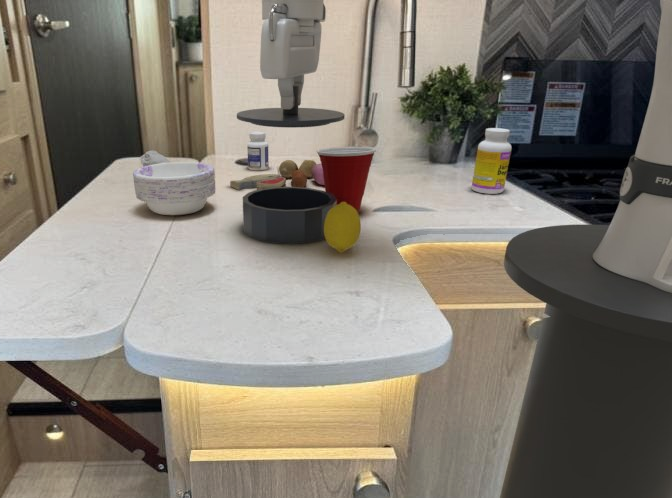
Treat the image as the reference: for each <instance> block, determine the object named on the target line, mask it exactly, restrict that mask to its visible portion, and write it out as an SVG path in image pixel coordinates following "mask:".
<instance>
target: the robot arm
mask: <svg viewBox="0 0 672 498" xmlns="http://www.w3.org/2000/svg"><path fill="white" fill-rule="evenodd" d="M659 5H660V11H661V13H660V23H659V29H658V36H657V45H656V55H655V65H654V76H653V81H652V82H653V83H652V88H651V93H650V98H649V102H648V106H647V109H646V113H645V117H644V120H643V124H642V128H641V131H640V135H639V138H638V142H637V145H636V148H635V153H634V154H632V155H631V156H630V158H629V161H628V164H627V167H626V168H625V170H624V174H623V177H622V181H621V185H620V187H619V202H618V205H617V207H616V210H615V212H614V215H613V218H612V219H611V221H610V223H609V225H610V226H609V228H608V230H607V232H606V234H605V236H604V238H603V239H602V241H601V243H600V244H599V246H598V248H597V249H596V250H595V252H594V253H593V259H594V260H595V262H596V263H598V264H599V265H600V266H602V267H604V268H605V269H607V270H609V271H612V272H614V273H616V274H619V275H622V276H625V277H628V278H631V279H634V280H638V281H641V282H644V283H647V284H650V285H652V286H654V287H656V288H659V289H661V290H663V291H666V292H669V293H672V0H659ZM326 14H327V9H326V5H325V3H324V0H261V19H262V20H263V23H262V26H261V33H260V57H259V69H260V75H261V78H262V79H264V80H277V87H278V92H279V96H280V108H282V109H292V108H294V105H295V104H294V101H295V96H293V86H299V98H298V107H299V106H301V104H302V92H303V89H304V83H305V75H310V74H313V73H316V72H317V69H318V66H319V61H320V52H321V43H322V31H323V30H322V29H323V28H322V23H324V22H325V21H326V17H327V16H326Z"/></svg>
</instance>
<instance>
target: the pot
mask: <svg viewBox="0 0 672 498" xmlns="http://www.w3.org/2000/svg"><path fill="white" fill-rule="evenodd" d="M335 205H337V199H336V198H335V196H334V195H333V194H330V193H328V192H325V190H321V189H317V188H313V187H303V188H302V187H292V186H286V187H273V188H266V189H260V190H257V189H256V190H254V191H253V190H252V191H250V192H247V193H246V194H245V195H243V196H242V223H243V224H242V226H243V232H244V233H245V234H246V235H247V236H249V237H250V238H253V239H254V240H258V241H261V242H266V243H273V244H283V245H285V244H286V245H295V244H307V243H315V242H319V241H322V240H326V238H325V235H324V222H325V218H326V216H327V213H328V211H329V210H330V209H331V208H332V207H334V206H335Z"/></svg>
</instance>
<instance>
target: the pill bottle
mask: <svg viewBox="0 0 672 498" xmlns="http://www.w3.org/2000/svg"><path fill="white" fill-rule="evenodd" d="M249 140H250V141H248V142H247V144H246V145H247V147H246V149H247V169H248V170H251V171H266V170H268V169H269V165H270V164H269V143H268V141H266V132H265V131H250V132H249Z"/></svg>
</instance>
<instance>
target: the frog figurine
mask: <svg viewBox="0 0 672 498" xmlns="http://www.w3.org/2000/svg"><path fill="white" fill-rule="evenodd" d="M139 160H140V163H141V164H142V167H144V166H148V165H153V164H160V163H169V162H171V160H169V158H167V157H166V156H164V155H162V154H160V153H159V152H158V151H156V150H154V149H153V150H148V151H146V152H145V153H144V154H142V155H141V156H140V157H139Z"/></svg>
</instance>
